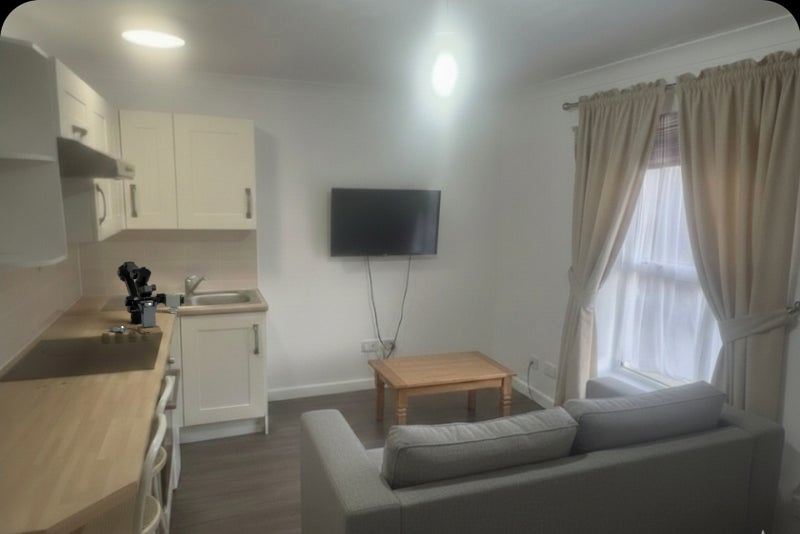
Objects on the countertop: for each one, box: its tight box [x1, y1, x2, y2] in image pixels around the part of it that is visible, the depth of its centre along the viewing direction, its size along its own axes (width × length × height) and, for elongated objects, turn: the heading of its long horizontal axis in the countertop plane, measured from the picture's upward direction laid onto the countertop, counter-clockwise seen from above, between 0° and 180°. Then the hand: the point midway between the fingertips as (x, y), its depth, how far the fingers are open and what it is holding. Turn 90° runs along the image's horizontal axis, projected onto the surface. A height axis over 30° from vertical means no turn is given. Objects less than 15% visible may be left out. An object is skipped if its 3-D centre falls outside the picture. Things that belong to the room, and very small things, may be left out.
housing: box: [141, 301, 157, 327], centre depth 262 cm, size 4×6×12 cm
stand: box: [136, 324, 162, 334], centre depth 262 cm, size 9×9×2 cm
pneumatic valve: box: [162, 293, 186, 315], centre depth 305 cm, size 6×12×12 cm, turn 106°
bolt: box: [109, 324, 127, 333], centre depth 258 cm, size 7×4×4 cm, turn 83°
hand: (149, 313), depth 260 cm, fingers closed on housing, 5 cm apart
